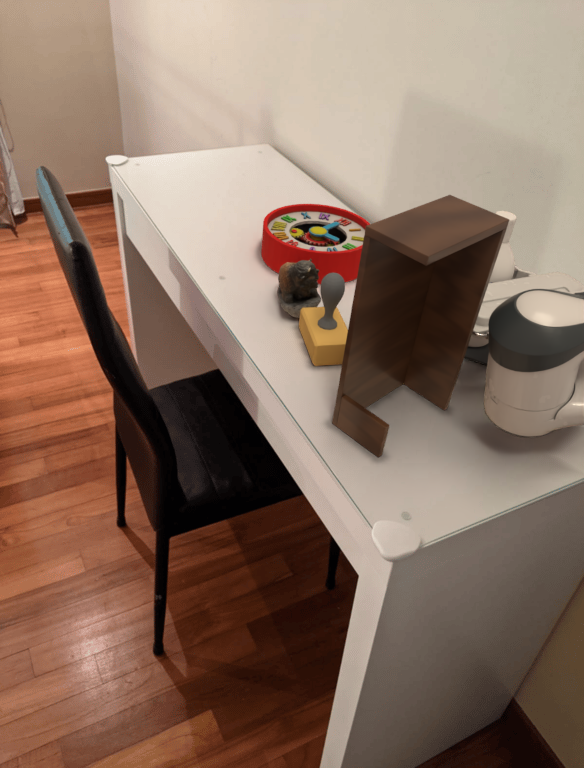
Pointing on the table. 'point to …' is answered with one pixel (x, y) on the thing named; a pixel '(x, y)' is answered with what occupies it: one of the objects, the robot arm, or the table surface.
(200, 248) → the table surface
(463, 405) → the table surface
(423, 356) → the cabinet
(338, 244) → the toy clock
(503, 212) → the bath foam
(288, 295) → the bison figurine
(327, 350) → the rubber stamp
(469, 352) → the pad
